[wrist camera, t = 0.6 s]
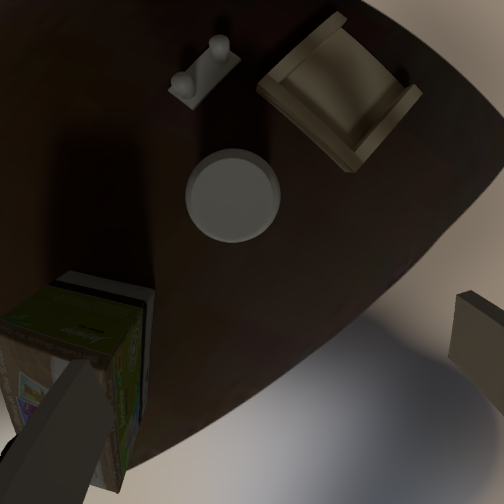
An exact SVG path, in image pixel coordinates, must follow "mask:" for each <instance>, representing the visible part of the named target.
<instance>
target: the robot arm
mask: <svg viewBox="0 0 504 504" xmlns="http://www.w3.org/2000/svg"><path fill="white" fill-rule="evenodd" d="M448 358H449V359H450V360H451V361H452V362H453V363H454V364H455V365H456V366H457V367H458V368H459V369H460V370H461V371H462V372H463V373H464V374H465V375H466V376H467V377H468V378H469V379H470V380H471V381H472V383H473V384H474V385H475V386H476V387H477V388H478V389H479V390H480V391H481V392H482V393H483V394H484V395H485V396H486V397H487V398H488V399H489V400H490V402H491V403H492V404H493V405H494V406H495V407H496V408H497V409H498V410H499V411H500V412H501V413H502V415H503V416H504V310H502V309H500V308H499V307H497V306H496V305H494V304H493V303H491V302H489V301H488V300H486V299H485V298H483V297H481V296H480V295H478V294H477V293H475V292H473V291H471V290H470V291H467V292H463V293H461V294H457V295H456V303H455V312H454V321H453V328H452V335H451V342H450V348H449V354H448ZM116 417H117V416H116V415H115V413H114V411H113V409H112V407H111V405H110V403H109V401H108V399H107V397H106V395H105V393H104V391H103V389H102V387H101V385H100V383H99V381H98V379H97V377H96V375H95V372H94V370H93V368H92V366H91V363H90V361H89V359H78V360H71V361H70V363H69V364H68V365H67V367H66V368H65V369H64V371H63V372H62V373H61V375H60V376H59V377H58V379H57V380H56V382H55V383H54V384H53V386H52V387H51V388H50V390H49V391H48V393H47V394H46V395H45V397H44V398H43V400H42V401H41V402H40V404H39V405H38V407H37V408H36V410H35V411H34V413H33V414H32V415H31V417H30V418H29V420H28V421H27V423H26V424H25V426H24V427H23V429H22V430H21V432H20V433H18V434H17V435H16V436H15V437H14V438H13V439H12V440H10V441H9V442H8V443H7V445H6V446H5V448H4V449H3V451H2V452H1V456H0V504H83V501H84V498H85V495H86V492H87V490H88V487H89V485H90V482H91V479H92V477H93V474H94V471H95V469H96V466H97V464H98V461H99V459H100V456H101V453H102V451H103V448H104V446H105V443H106V441H107V438H108V436H109V434H110V431H111V429H112V426H113V424H114V421H115V419H116Z"/></svg>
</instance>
